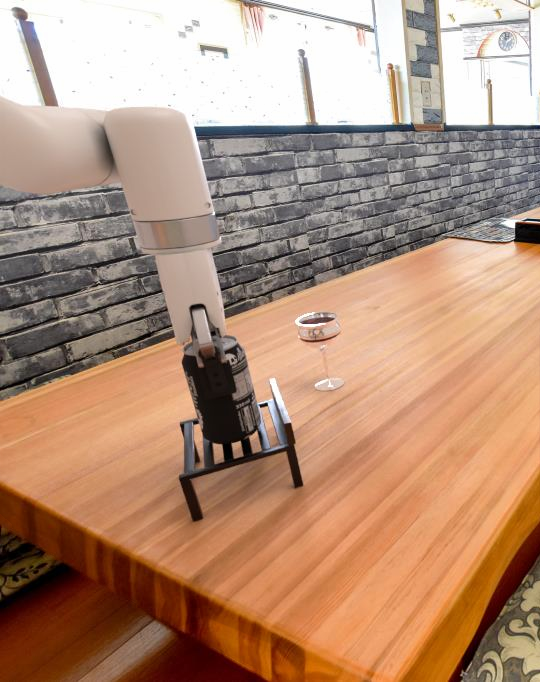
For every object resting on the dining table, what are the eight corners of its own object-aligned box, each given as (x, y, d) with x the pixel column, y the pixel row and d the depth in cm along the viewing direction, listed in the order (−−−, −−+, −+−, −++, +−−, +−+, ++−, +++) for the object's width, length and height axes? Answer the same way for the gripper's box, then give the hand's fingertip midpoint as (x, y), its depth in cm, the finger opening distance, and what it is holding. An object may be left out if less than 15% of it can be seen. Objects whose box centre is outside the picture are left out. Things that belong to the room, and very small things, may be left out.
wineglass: (358, 378, 93) (347, 313, 88) (332, 395, 87) (319, 327, 82) (327, 373, 95) (315, 310, 91) (300, 389, 89) (286, 323, 85)
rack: (193, 521, 60) (170, 455, 56) (191, 460, 71) (173, 401, 68) (305, 485, 65) (291, 422, 62) (287, 433, 77) (274, 377, 73)
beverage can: (198, 431, 66) (173, 343, 62) (254, 413, 70) (233, 329, 66) (211, 454, 62) (184, 360, 57) (269, 433, 66) (248, 344, 61)
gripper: (143, 226, 62) (184, 364, 69) (131, 253, 48) (184, 424, 55) (215, 218, 65) (247, 351, 72) (223, 242, 51) (262, 404, 58)
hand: (219, 381), depth 63 cm, fingers closed on beverage can, 6 cm apart
